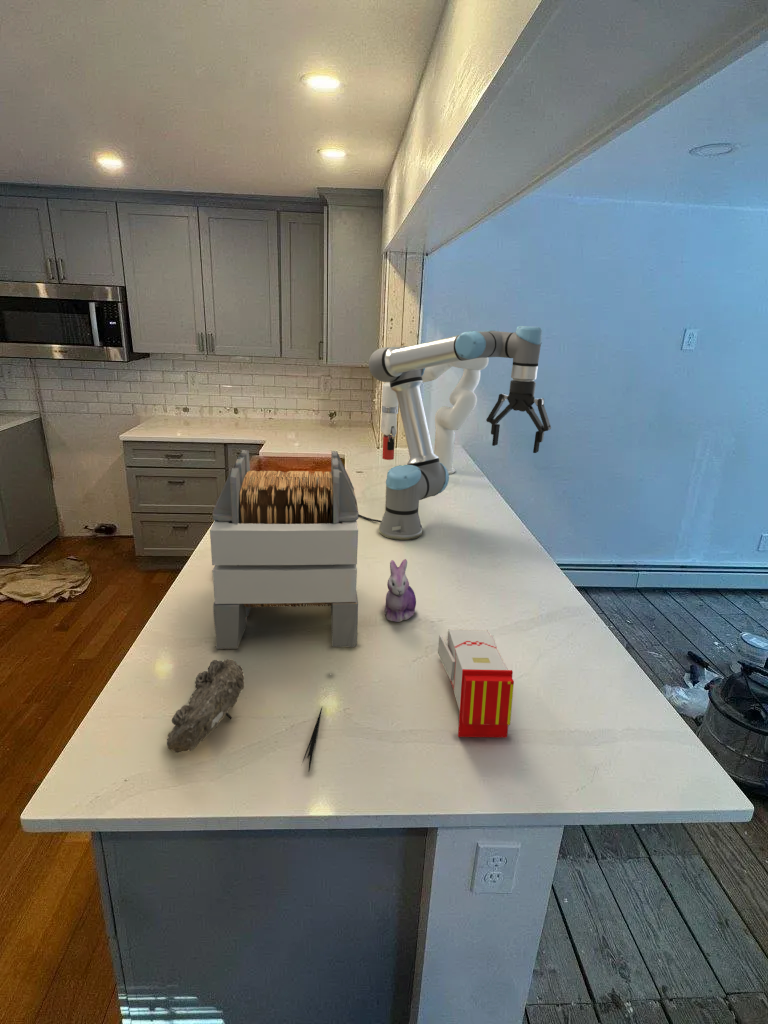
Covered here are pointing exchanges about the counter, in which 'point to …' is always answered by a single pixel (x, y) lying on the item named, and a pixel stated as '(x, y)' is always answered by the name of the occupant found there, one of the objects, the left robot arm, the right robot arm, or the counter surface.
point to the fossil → (206, 705)
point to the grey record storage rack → (285, 547)
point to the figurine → (399, 594)
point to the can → (387, 453)
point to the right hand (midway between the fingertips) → (388, 447)
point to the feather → (313, 740)
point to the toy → (478, 682)
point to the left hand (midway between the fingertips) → (514, 448)
